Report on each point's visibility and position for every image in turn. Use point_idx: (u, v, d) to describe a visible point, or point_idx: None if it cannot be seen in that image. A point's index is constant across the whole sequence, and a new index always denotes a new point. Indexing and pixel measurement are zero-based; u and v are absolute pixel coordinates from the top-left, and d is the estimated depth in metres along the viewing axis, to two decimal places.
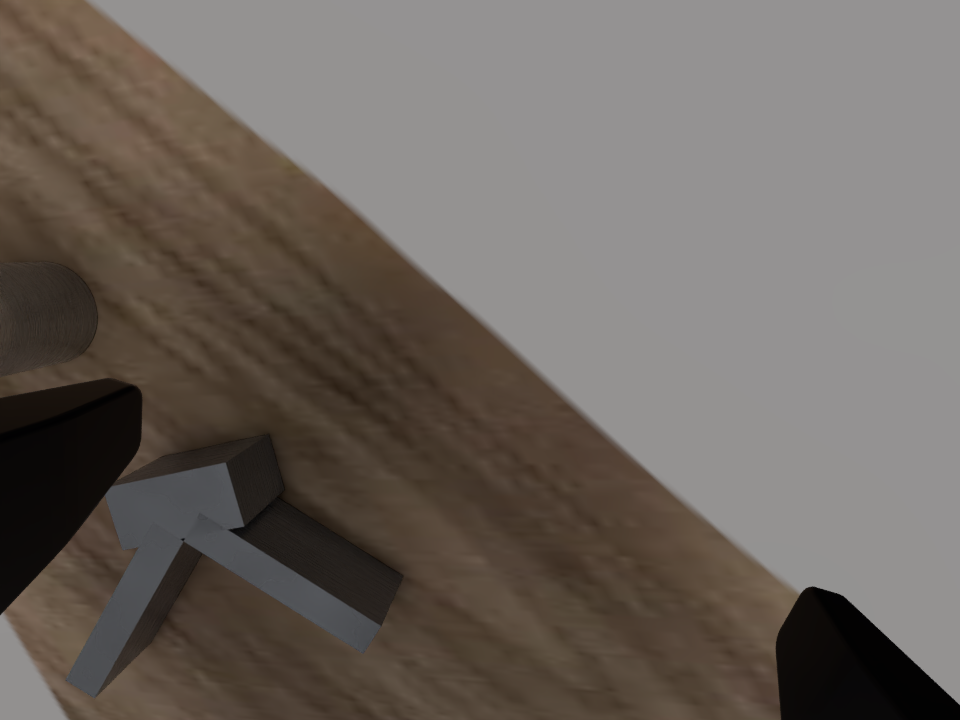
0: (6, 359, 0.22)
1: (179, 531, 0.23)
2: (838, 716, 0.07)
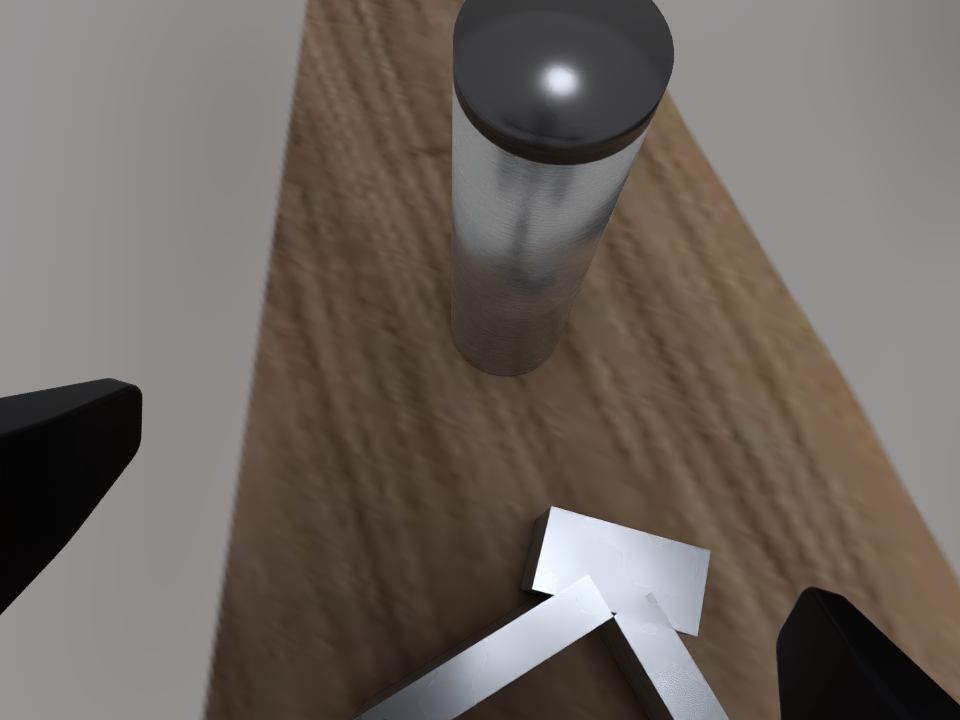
0: (546, 327, 0.20)
1: (614, 602, 0.18)
2: (838, 716, 0.07)
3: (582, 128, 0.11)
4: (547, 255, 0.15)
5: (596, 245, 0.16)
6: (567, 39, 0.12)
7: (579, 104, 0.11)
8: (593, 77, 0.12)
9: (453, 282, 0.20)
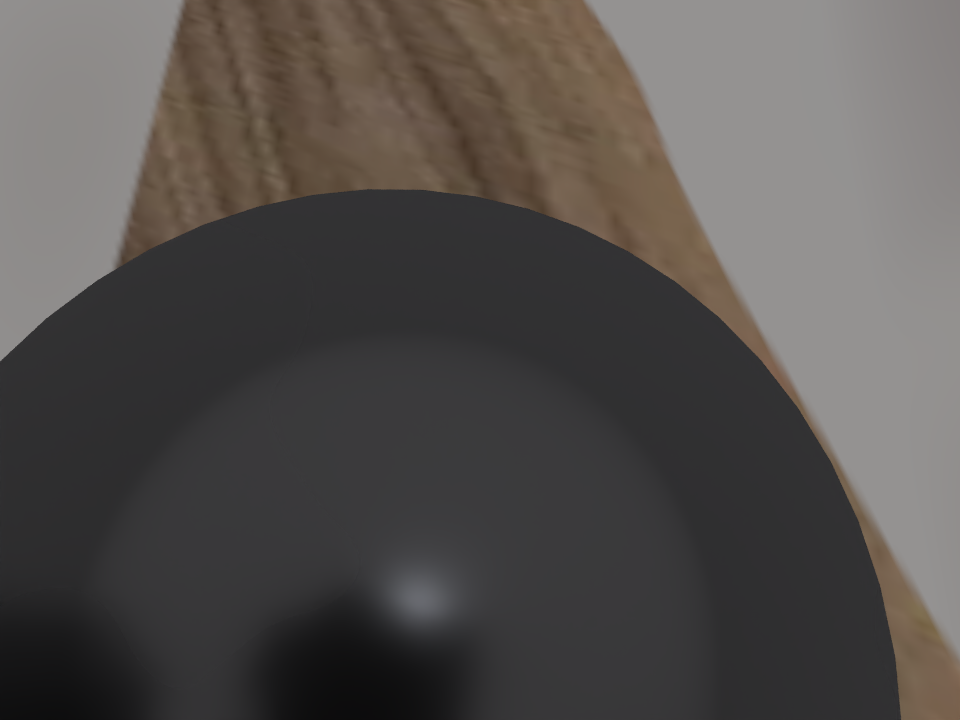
0: None
1: None
2: None
3: None
4: None
5: None
6: (402, 610, 0.03)
7: None
8: None
9: None
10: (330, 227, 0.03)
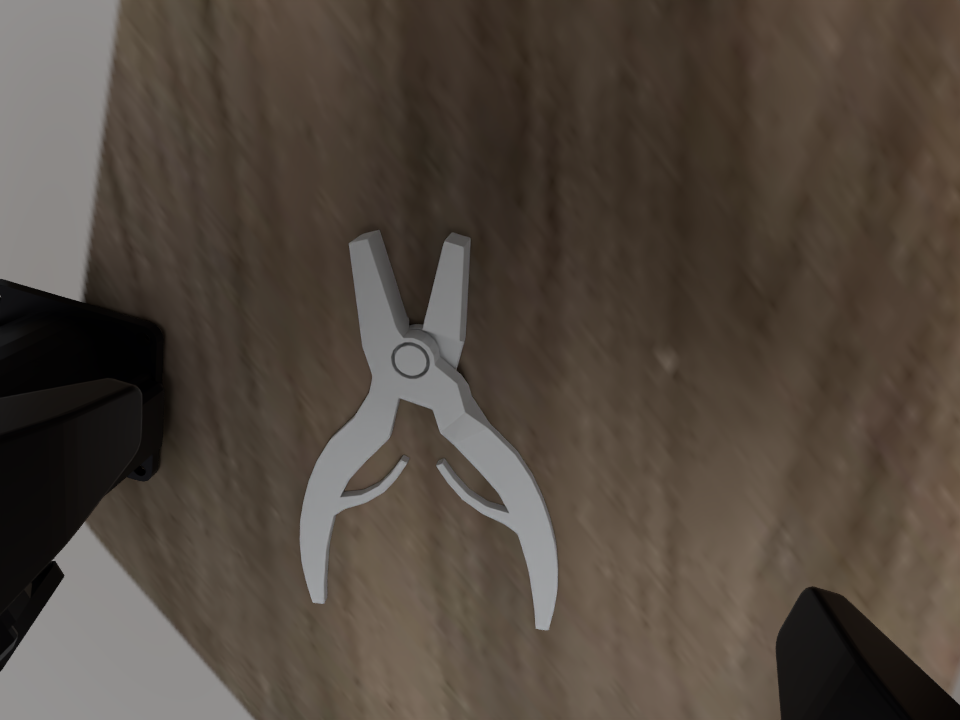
0: None
1: None
2: (838, 716, 0.07)
3: None
4: None
5: None
6: None
7: None
8: None
9: None
10: None
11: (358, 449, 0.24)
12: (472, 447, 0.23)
